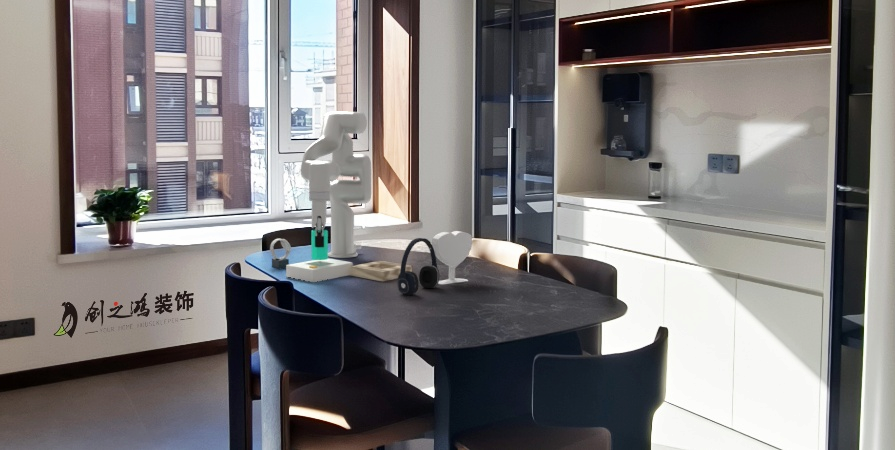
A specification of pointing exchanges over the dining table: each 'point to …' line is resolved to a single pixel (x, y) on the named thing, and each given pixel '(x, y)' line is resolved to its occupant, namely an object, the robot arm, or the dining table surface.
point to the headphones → (427, 273)
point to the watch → (281, 261)
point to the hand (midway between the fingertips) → (319, 245)
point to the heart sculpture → (452, 251)
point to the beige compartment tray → (378, 270)
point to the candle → (319, 252)
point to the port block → (319, 270)
